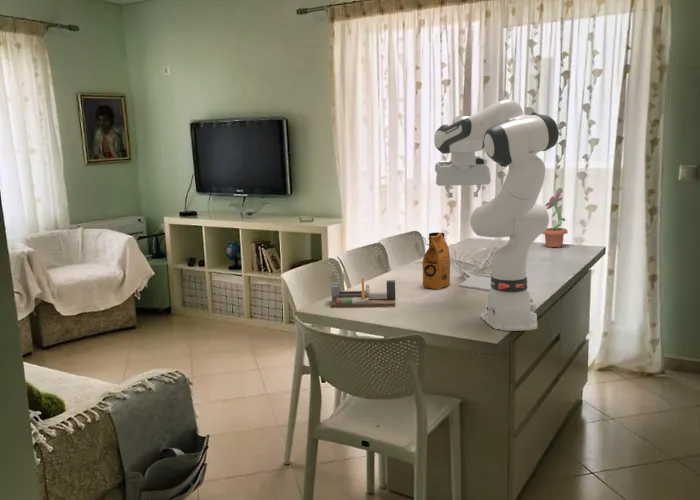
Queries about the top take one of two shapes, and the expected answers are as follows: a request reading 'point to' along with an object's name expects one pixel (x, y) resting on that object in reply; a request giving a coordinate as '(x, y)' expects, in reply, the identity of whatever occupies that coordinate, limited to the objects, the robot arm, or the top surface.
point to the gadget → (478, 282)
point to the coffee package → (436, 264)
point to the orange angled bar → (363, 289)
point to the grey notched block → (382, 295)
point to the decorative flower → (555, 234)
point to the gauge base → (371, 304)
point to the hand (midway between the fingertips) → (463, 197)
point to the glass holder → (429, 240)
